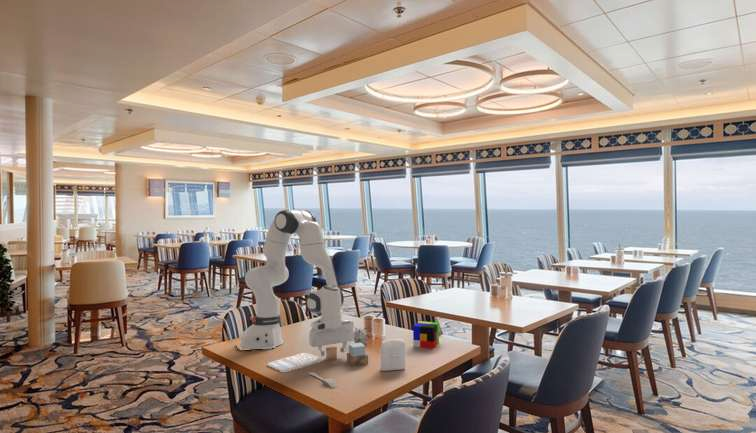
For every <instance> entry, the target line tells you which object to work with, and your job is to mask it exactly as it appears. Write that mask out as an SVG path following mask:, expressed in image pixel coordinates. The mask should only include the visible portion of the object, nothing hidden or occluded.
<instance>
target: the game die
mask: <svg viewBox="0 0 756 433" xmlns="http://www.w3.org/2000/svg"><path fill="white" fill-rule="evenodd" d="M354 328H355V330H354V340H353V341H354V343H360V342H361V343H362V344H363V345H365V346H366V342H367V339H369V337H370V335H368V334H367V330H366V327H364V328H357V327H354Z"/></svg>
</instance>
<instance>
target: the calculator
mask: <svg viewBox="0 0 756 433" xmlns="http://www.w3.org/2000/svg"><path fill="white" fill-rule="evenodd" d="M322 361H323V359H322V358H321V357H319V356H316V355H313V354H310V353H309V352H308V353H307V352H301V353H298V354H294V355H291V356H287V357H283V358H280V359H277V360H276V359H275V360H273V361H270V362H269V361H268V362H267V364H266V366H267V365H268V366H270V367H272V368H271V369H273V368H274V369H273V370H275V369H276V370H275V371H277V370H279V371H281V372H280V373H282V372H286V373H289V372H292V371H291V370H293V371H296V370H298V368H299V369H302V368H305V366H306V367H308V366H312V365H315V364H319V363H321V362H322ZM268 366H267V367H268ZM270 367H269V368H270ZM295 369H296V370H295ZM279 371H278V372H279ZM288 371H289V372H288Z"/></svg>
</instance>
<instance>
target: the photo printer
mask: <svg viewBox="0 0 756 433" xmlns="http://www.w3.org/2000/svg"><path fill="white" fill-rule="evenodd" d="M405 369H406V345H405V340H403V339H401V338H388V339H385V340H383V341H381V342H380V370H381V371H382V372H384V371H386V372H387V371H398V370H399V371H400V370H405Z"/></svg>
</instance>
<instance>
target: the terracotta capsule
mask: <svg viewBox="0 0 756 433" xmlns="http://www.w3.org/2000/svg"><path fill="white" fill-rule="evenodd" d="M325 349H326V350H325V352H326V353H325V354H326V356H325V357H326V361H336V360H337V358H338V356H337V355H338V352H337V351H338V349H337V346H335V345H327V347H326V348H325Z"/></svg>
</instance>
